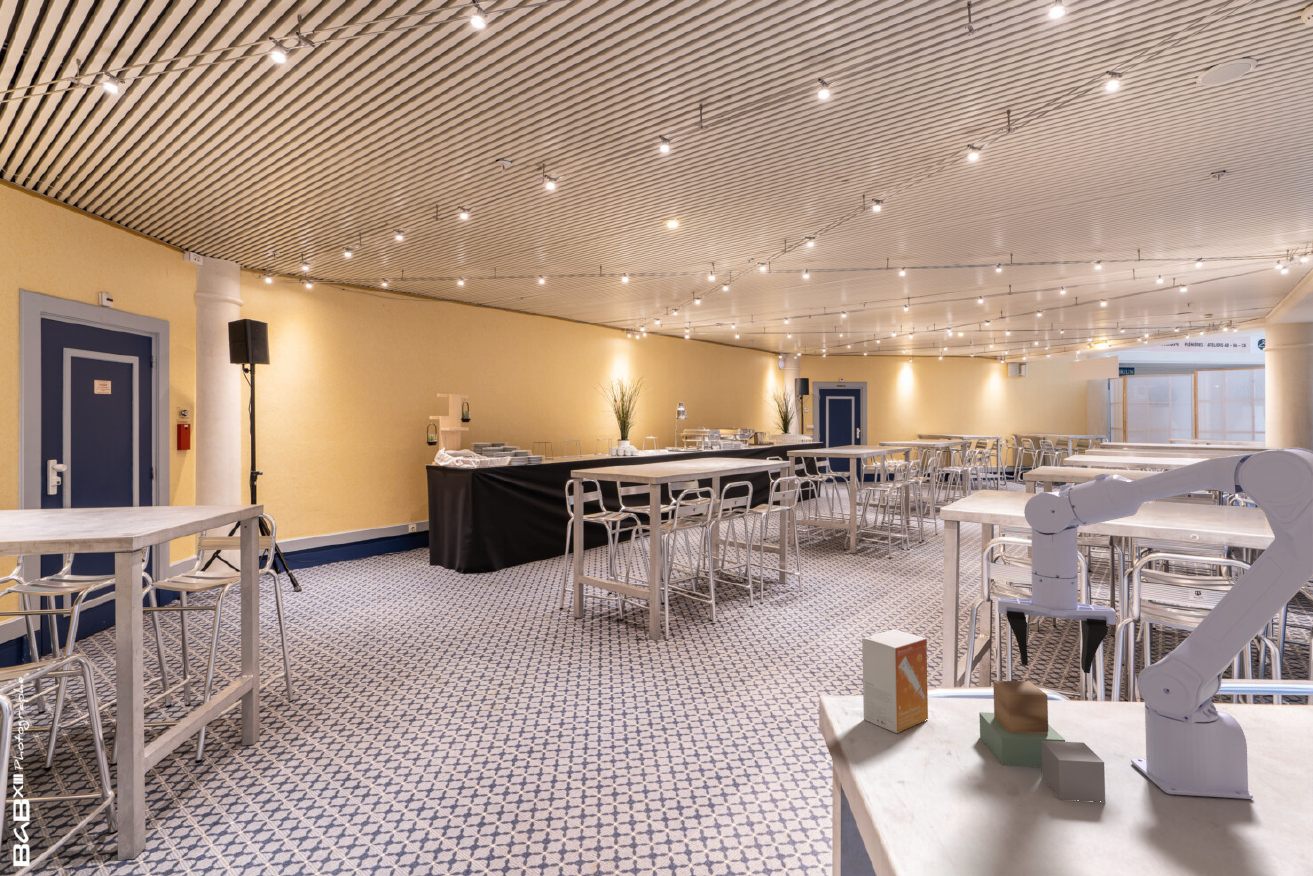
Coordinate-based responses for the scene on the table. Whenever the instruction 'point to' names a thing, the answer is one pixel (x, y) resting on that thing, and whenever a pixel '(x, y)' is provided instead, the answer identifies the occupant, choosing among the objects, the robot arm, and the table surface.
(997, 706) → the walnut cube
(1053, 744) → the grey cube
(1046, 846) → the table surface
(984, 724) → the green block
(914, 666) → the small box
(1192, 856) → the table surface
